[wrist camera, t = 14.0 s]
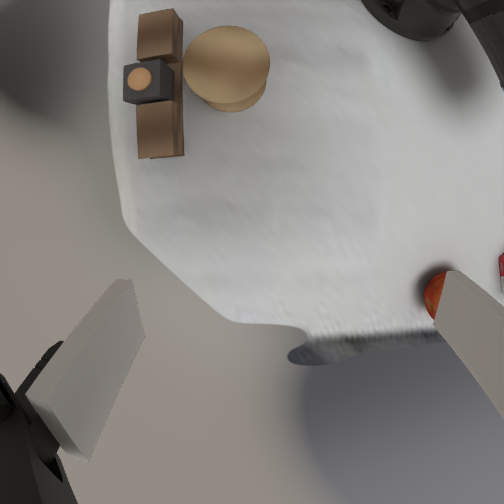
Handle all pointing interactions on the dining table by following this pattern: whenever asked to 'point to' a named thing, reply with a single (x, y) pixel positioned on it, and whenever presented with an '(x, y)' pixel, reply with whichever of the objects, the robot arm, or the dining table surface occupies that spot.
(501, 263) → the ink box
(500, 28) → the robot arm
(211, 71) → the wooden spool
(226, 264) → the dining table surface
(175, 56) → the brown wooden u-shaped block
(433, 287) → the apple
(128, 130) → the dining table surface
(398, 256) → the dining table surface
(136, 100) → the dark grey rectangular block
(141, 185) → the dining table surface
